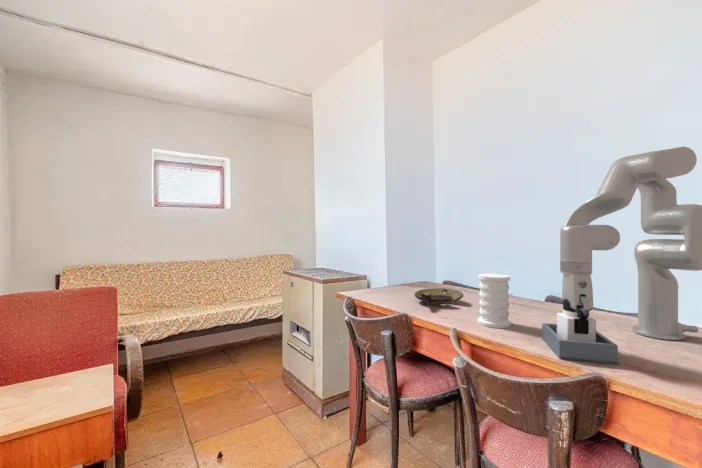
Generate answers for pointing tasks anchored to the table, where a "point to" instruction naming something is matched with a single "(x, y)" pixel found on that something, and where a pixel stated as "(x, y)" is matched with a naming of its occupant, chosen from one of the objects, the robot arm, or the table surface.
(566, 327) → the medicine bottle
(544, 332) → the bin
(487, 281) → the decorative container
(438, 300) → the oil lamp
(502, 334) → the table surface
